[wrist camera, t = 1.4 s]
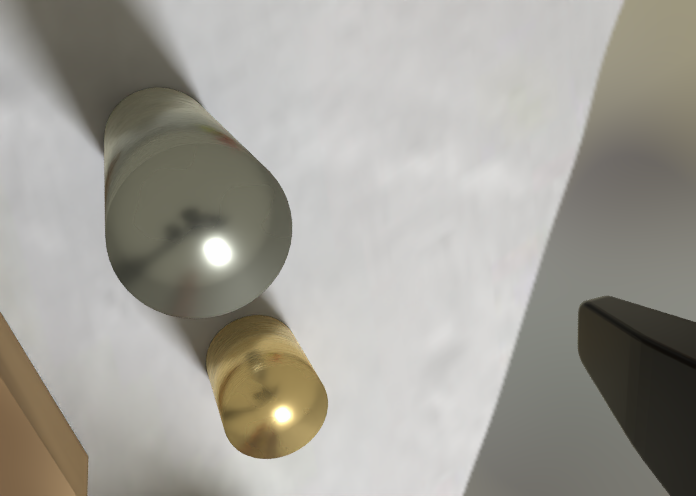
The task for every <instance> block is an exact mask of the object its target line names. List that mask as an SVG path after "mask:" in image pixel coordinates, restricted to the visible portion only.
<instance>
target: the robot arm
mask: <svg viewBox="0 0 696 496" xmlns="http://www.w3.org/2000/svg"><path fill="white" fill-rule="evenodd" d="M578 353H579V356H580V359H581V361H582V364H583V365H584V367H585V369H586V370H587V372H588V374H589V375H590V377H591V379H592V380H593V382H594V384H595V385H596V387H597V388H598V390H599V392H600V393H601V395H602V397H603V398H604V400H605V402H606V403H607V405H608V407H609V408H610V410H611V411H612V413H613V415H614V416H615V418H616V420H617V421H618V423H619V425H620V426H621V428H622V430H623V431H624V433H625V435H626V436H627V438H628V439H629V441H630V442H631V444H632V445H633V447H634V448H635V450H636V451H637V452H638V454H639V455H640V456H641V458H642V459H643V461H644V462H645V463H646V465H647V466H648V467H649V469H650V470H651V471H652V473H653V474H654V475H655V476H656V478H657V479H658V480H659V482H660V483H661V484H662V486H663V487H664V488H665V489H666V491H667V492H668V493H669V495H670V496H696V322H693V321H690V320H686V319H683V318H680V317H677V316H674V315H670V314H667V313H663V312H661V311H657V310H654V309H651V308H647V307H644V306H641V305H638V304H634V303H631V302H628V301H625V300H621V299H618V298H615V297H612V296H602V297H598V298H594V299H590V300H586V301H584V302H582V303H581V305H580V307H579V311H578Z"/></svg>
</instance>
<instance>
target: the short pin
mask: <svg viewBox="0 0 696 496" xmlns="http://www.w3.org/2000/svg"><path fill="white" fill-rule="evenodd" d="M206 368H207V372H208V376H209V379H210V382H211V386H212V389H213V393H214V396H215V399H216V403H217V406H218V410H219V413H220V416H221V420H222V423H223V427H224V430H225V433H226V436H227V438H228V440H229V441H230V443H231V444H232V445H233V446H234V447H235V448H236V449H237V450H238V451H240V452H242V453H243V454H245V455H248V456H251V457H254V458H260V459H272V458H278V457H282V456H286V455H288V454H291V453H293V452H295V451H297V450H299V449H300V448H302V447H303V446H305V445H306V444H307V443H308V442H309V441H311V440H312V438H313V437H314V436H315V435H316V434H317V433H318V431H319V430H320V428H321V426H322V425H323V422H324V420H325V417H326V414H327V409H328V399H327V394H326V390H325V388H324V386H323V384H322V382H321V381H320V379H319V377H318V376H317V374H316V372H315V371H314V369H313V367H312V365H311V364H310V362H309V360H308V359H307V357H306V355H305V354H304V352H303V350H302V349H301V347H300V345H299V343H298V342H297V340H296V338H295V337H294V335H293V333H292V332H291V330H290V329H289V328H288V327H287V326H286V325H285V324H284V323H282V322H281V321H279V320H277V319H275V318H273V317H269V316H263V315H252V316H246V317H242V318H240V319H237V320H235V321H233V322H231V323H229V324H228V325H226V326H225V327H224V328H223V329H221V330H220V331H219V332H218V334H217V335H216V336H215V337H214V339H213V340H212V342H211V344H210V346H209V349H208V352H207V356H206Z"/></svg>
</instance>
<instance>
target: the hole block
mask: <svg viewBox="0 0 696 496" xmlns="http://www.w3.org/2000/svg"><path fill="white" fill-rule="evenodd" d="M87 485H88V456H87V454H86V452H85V451H84V449H83V447H82V446H81V444H80V442H79V441H78V439H77V437H76V436H75V434H74V432H73V431H72V429H71V428H70V426H69V424H68V423H67V421H66V419H65V418H64V416H63V414H62V413H61V411H60V409H59V408H58V406H57V405H56V403H55V401H54V400H53V398H52V396H51V395H50V393H49V391H48V390H47V388H46V386H45V385H44V383H43V381H42V380H41V378H40V377H39V375H38V373H37V372H36V370H35V368H34V367H33V365H32V363H31V362H30V360H29V358H28V357H27V355H26V353H25V352H24V350H23V349H22V347H21V345H20V344H19V342H18V340H17V339H16V337H15V335H14V334H13V332H12V330H11V329H10V327H9V326H8V324H7V322H6V321H5V319H4V317H3V316H2V314H1V312H0V496H87Z"/></svg>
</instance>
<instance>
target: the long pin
mask: <svg viewBox="0 0 696 496" xmlns="http://www.w3.org/2000/svg"><path fill="white" fill-rule="evenodd" d="M104 180H105V238H106V248H107V252H108V256H109V260H110V262H111V265H112V267H113V270H114V272H115V273H116V275H117V277H118V278H119V280H120V282H121V283H122V284H123V285H124V287H125V288H126V289H127V290H128V291H129V292H130V293H131V294H132V295H133V296H134V297H135V298H137V299H138V300H139V301H141V302H142V303H144V304H145V305H147V306H149V307H150V308H152V309H154V310H156V311H159V312H162V313H164V314H167V315H171V316H175V317H181V318H189V319H202V318H210V317H216V316H220V315H224V314H227V313H230V312H232V311H235V310H237V309H239V308H241V307H243V306H245V305H247V304H248V303H250V302H251V301H253V300H254V299H256V298H257V297H258V296H259V295H260V294H262V293H263V292H264V291H265V290H266V289H267V288H268V287H269V286H270V285H271V284H272V282H273V281H274V279H275V278H276V277H277V275H278V274H279V272H280V270H281V269H282V267H283V265H284V263H285V260H286V258H287V255H288V252H289V248H290V245H291V237H292V218H291V211H290V208H289V204H288V201H287V198H286V196H285V194H284V191H283V190H282V188H281V186H280V185H279V183H278V181H277V180H276V179H275V177H274V176H273V175H272V174H271V173H270V171H268V170H267V169H266V168H265V167H264V166H263V165H262V164H261V163H260V162H259V161H258V160H257V159H256V158H255V157H254V156H253V155H252V154H251V153H250V152H249V151H248V150H247V149H246V148H245V147H244V146H242V145H241V144H240V143H239V142H238V141H237V140H236V139H235V138H234V137H233V136H232V135H231V134H230V133H229V132H228V131H227V130H226V129H225V128H224V127H223V126H222V125H221V124H220V123H219V122H218V121H217V120H215V119H214V118H213V117H212V116H211V115H210V114H209V113H208V112H207V111H206V110H205V109H204V108H203V107H202V106H201V105H200V104H199V103H198V102H197V101H195V100H194V99H193V98H191V97H190V96H188V95H186V94H185V93H182V92H180V91H177V90H174V89H170V88H162V87H154V88H147V89H143V90H139V91H137V92H135V93H132V94H131V95H129V96H127V97H126V98H125V99H123V100H122V101H121V102H120V103H119V104H118V105H117V106H116V107H115V109H114V110H113V111H112V113H111V115H110V117H109V119H108V121H107V124H106V127H105V132H104Z"/></svg>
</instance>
